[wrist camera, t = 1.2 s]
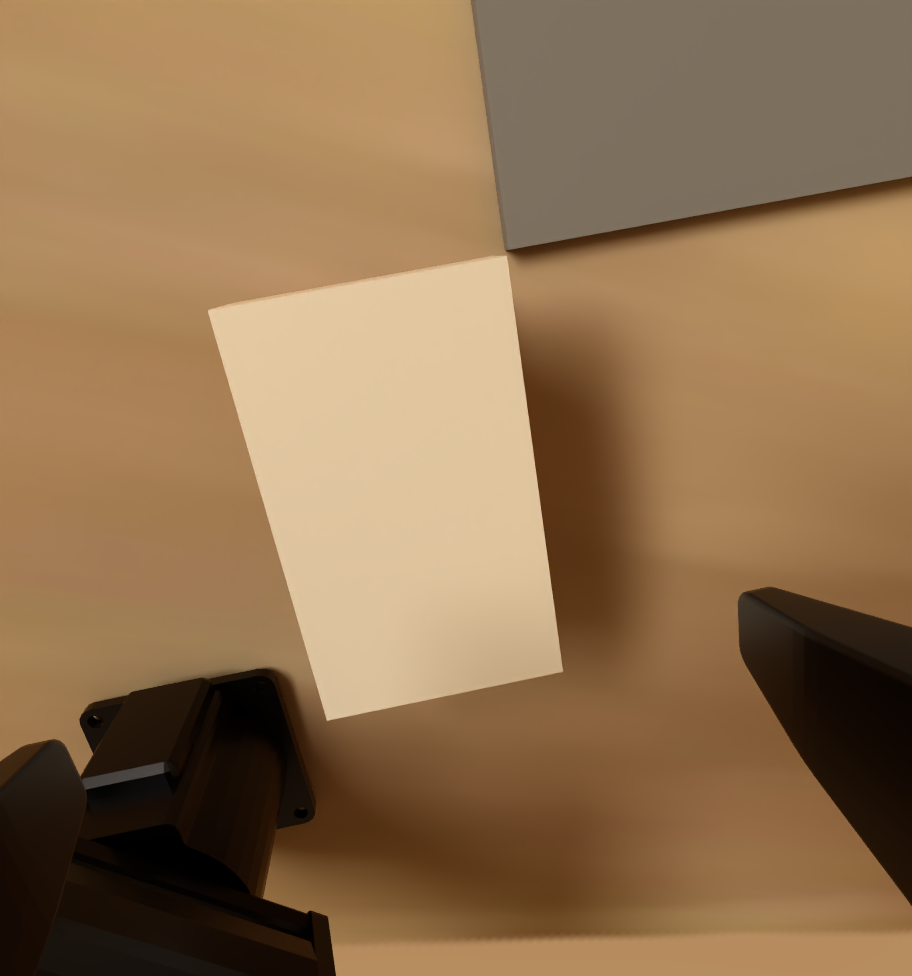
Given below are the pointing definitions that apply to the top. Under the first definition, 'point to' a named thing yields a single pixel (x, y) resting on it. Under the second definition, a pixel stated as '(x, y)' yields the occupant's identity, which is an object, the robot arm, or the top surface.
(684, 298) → the top surface
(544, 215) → the mat
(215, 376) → the top surface
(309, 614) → the footstool
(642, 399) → the top surface
